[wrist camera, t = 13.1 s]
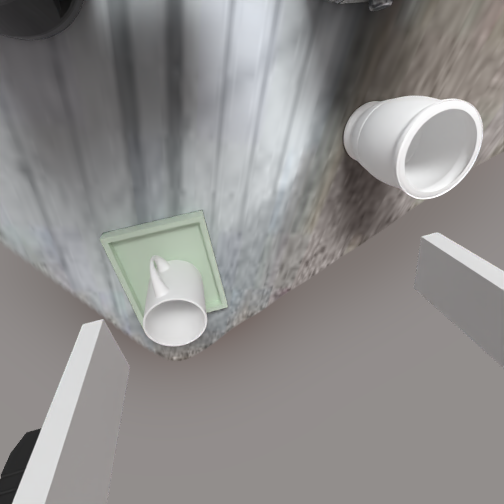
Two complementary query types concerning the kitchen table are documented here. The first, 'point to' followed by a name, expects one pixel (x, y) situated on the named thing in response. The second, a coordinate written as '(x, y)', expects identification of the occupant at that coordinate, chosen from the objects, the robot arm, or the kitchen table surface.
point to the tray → (163, 256)
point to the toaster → (376, 2)
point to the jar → (416, 142)
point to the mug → (174, 303)
